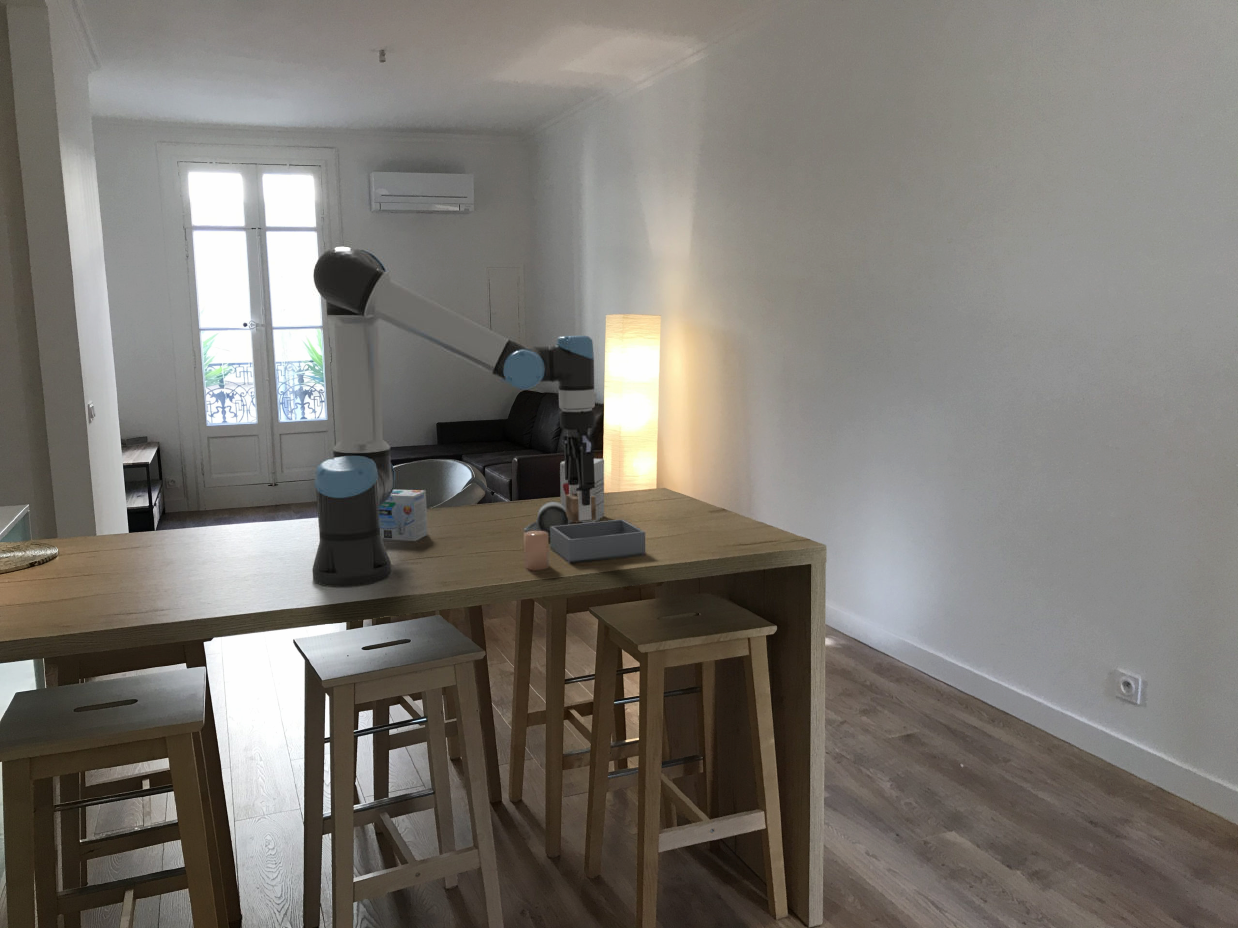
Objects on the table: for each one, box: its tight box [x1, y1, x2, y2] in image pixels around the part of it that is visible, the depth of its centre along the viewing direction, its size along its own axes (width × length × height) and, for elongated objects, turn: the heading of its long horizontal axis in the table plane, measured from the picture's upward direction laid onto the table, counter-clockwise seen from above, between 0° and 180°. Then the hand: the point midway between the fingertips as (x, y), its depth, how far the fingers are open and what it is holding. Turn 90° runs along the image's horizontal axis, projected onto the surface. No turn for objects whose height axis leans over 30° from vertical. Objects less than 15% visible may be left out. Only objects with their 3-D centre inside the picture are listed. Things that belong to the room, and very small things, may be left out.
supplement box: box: [559, 458, 605, 523], centre depth 233 cm, size 9×9×15 cm
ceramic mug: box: [523, 501, 571, 538], centre depth 219 cm, size 11×8×8 cm
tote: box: [549, 519, 646, 564], centre depth 203 cm, size 17×13×5 cm
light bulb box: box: [379, 488, 429, 542], centre depth 217 cm, size 11×7×11 cm, turn 76°
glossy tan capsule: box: [523, 531, 550, 571], centre depth 192 cm, size 5×5×7 cm
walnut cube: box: [566, 493, 596, 523], centre depth 200 cm, size 5×5×5 cm
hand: (580, 516), depth 200 cm, fingers closed on walnut cube, 5 cm apart
